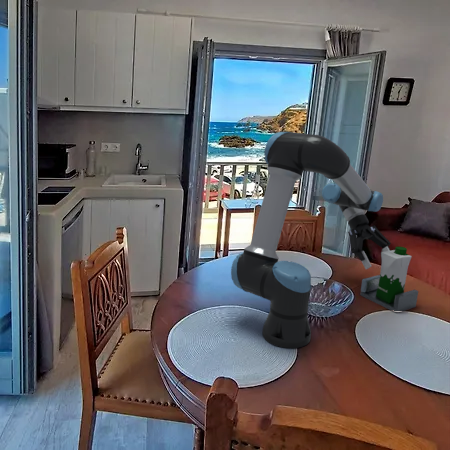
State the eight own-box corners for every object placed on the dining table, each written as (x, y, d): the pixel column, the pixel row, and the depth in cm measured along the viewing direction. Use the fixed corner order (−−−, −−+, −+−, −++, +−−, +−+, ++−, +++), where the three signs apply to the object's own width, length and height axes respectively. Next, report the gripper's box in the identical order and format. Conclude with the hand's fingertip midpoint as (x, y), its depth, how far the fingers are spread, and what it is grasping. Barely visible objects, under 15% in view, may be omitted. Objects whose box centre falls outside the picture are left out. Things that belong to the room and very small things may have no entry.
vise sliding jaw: (383, 287, 176) (385, 276, 174) (364, 292, 170) (366, 281, 169) (379, 286, 177) (381, 274, 176) (360, 291, 172) (362, 279, 170)
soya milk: (406, 301, 165) (415, 251, 159) (388, 305, 161) (396, 253, 156) (389, 292, 172) (396, 243, 167) (371, 295, 169) (378, 246, 163)
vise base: (415, 307, 164) (418, 291, 162) (396, 313, 158) (399, 296, 156) (378, 290, 178) (381, 275, 176) (360, 295, 172) (362, 279, 170)
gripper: (371, 219, 187) (395, 264, 178) (328, 226, 174) (352, 274, 166) (382, 210, 181) (408, 256, 173) (339, 216, 168) (364, 265, 160)
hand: (380, 265), depth 169 cm, fingers open, 13 cm apart
